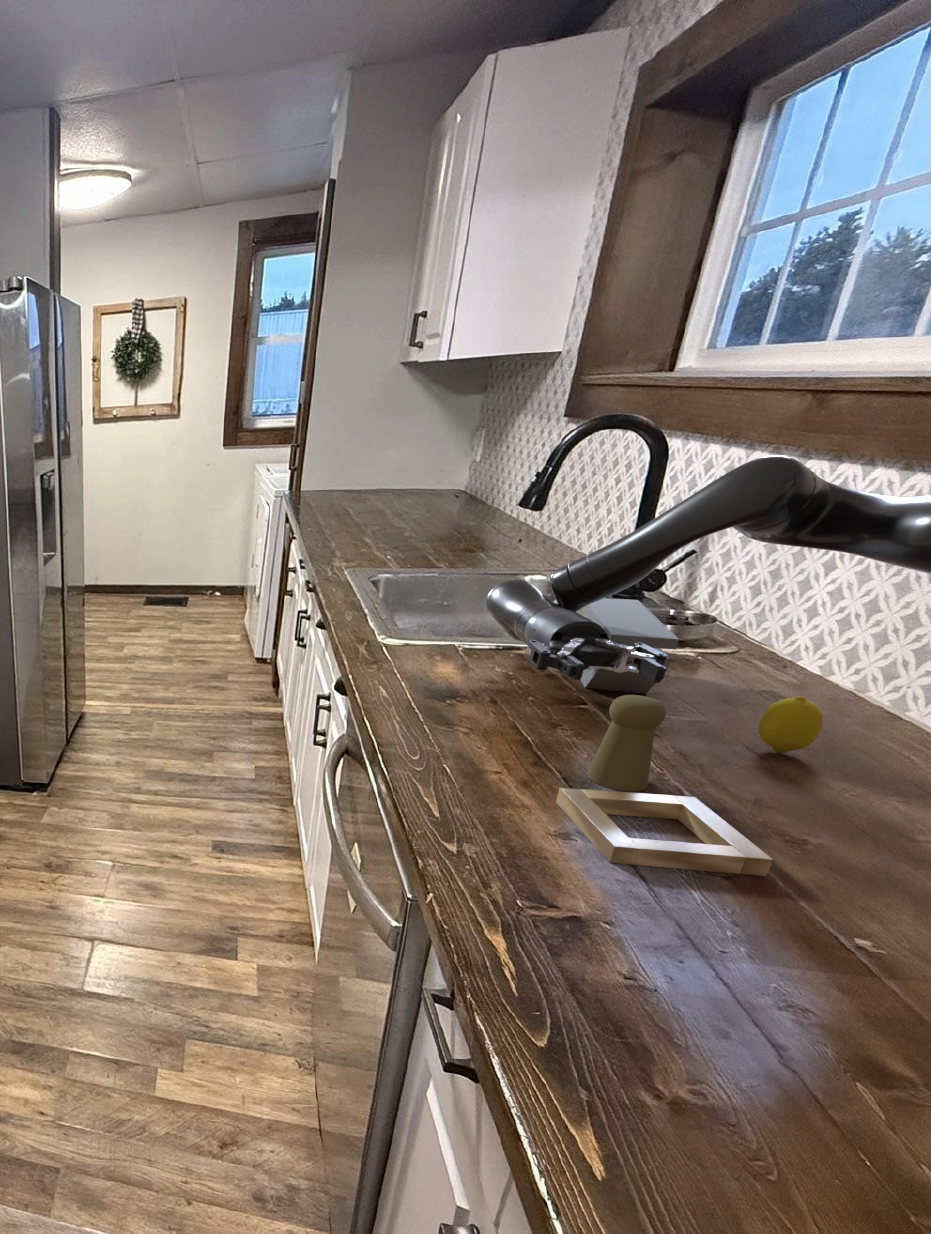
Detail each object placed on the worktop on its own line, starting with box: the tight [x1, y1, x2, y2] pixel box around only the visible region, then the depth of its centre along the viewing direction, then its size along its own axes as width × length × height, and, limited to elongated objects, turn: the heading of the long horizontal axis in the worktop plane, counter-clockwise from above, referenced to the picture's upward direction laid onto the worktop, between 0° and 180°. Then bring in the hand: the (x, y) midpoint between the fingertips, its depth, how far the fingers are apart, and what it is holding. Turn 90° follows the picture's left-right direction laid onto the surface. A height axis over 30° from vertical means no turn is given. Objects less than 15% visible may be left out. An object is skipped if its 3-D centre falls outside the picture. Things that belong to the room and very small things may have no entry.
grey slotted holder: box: [579, 597, 680, 695], centre depth 126 cm, size 25×8×11 cm, turn 152°
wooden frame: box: [555, 787, 774, 877], centre depth 84 cm, size 13×13×2 cm
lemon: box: [758, 695, 824, 754], centre depth 100 cm, size 6×6×8 cm
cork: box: [586, 694, 667, 792], centre depth 95 cm, size 6×6×11 cm
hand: (619, 674), depth 97 cm, fingers open, 8 cm apart
